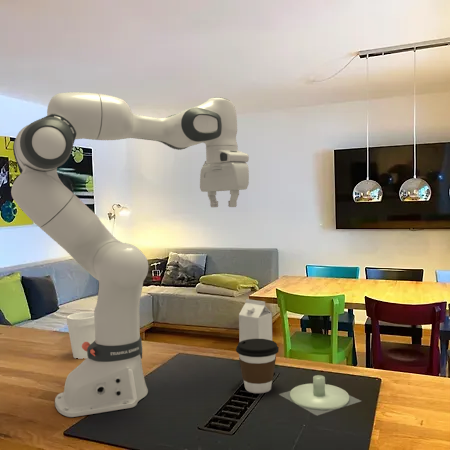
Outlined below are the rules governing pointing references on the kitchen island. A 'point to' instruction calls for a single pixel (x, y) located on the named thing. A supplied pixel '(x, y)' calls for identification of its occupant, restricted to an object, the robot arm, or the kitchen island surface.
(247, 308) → the milk carton
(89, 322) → the foam cup
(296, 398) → the lid
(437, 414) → the kitchen island surface
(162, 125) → the robot arm
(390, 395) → the kitchen island surface
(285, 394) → the mat
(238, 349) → the coffee cup
